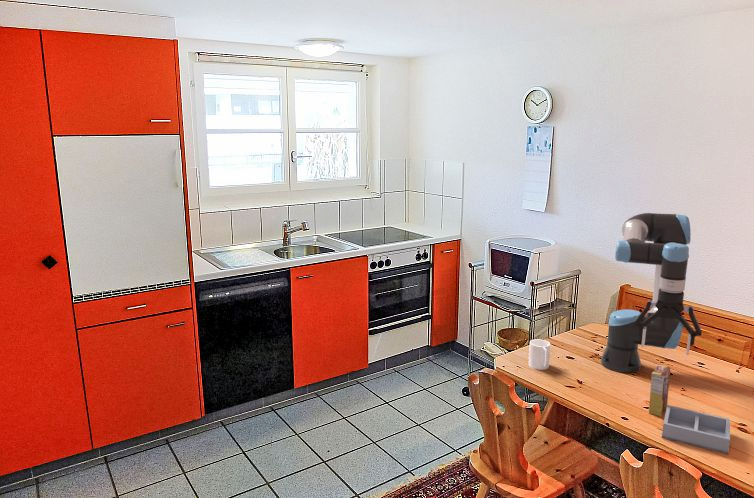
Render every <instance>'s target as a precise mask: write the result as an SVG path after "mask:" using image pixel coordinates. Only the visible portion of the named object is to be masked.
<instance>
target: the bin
mask: <svg viewBox="0 0 754 498" xmlns="http://www.w3.org/2000/svg"><path fill="white" fill-rule="evenodd" d="M661 439H666V440H669V441H673V442H677V443H681V444H684V445H688V446H692V447H696V448H701V449H704V450H709V451H713V452H716V453H721V454H724V455H729V450H730V443H731V418H728V417H722V416H717V415H714V414H710V413H707V412H706V413H705V412H701V411H697V410H691V409H688V408H683V407H678V406H674V405H670V404H667V408H666V409H665V414H664V420H663V425H662V432H661Z"/></svg>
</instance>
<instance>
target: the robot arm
mask: <svg viewBox="0 0 754 498" xmlns="http://www.w3.org/2000/svg"><path fill="white" fill-rule="evenodd" d="M691 231H692V230H691V222H690V219H689V217H688V216H687V215H685V214H683V215H682V214H677V213H657V212H656V213H655V212H654V213H652V212H643V213H639V214H635V215H633V216H632V217H629V218H628V219H627V220H626V221H624V223H623V224H622V229H621V233H622V236H623V239H622V240H618V241H617V242H616V245H615V256H614V258H615V261H617V262H620V263H621V262H622V263H627V264H628V263H630V264H631V263H632V264H644V265H655V268H654V269H655V271H654V278H653V279H654V281H653V291H652V292H653V293H652V300H651V299H648V300H647V301H646V305H645V307H644V309H643V310H642V311H641V312H640V311H639V310H635V309H618V310H614V311H612V312H611V313H610V315H609V321H608V332H607V343H606V347H605V349H604V351H603V353H602V355H601V359H600V362H601V366H603V367H604V368H607V369H609V370H611V371H613V372H618V373H630V374H631V373H637V372H639V371H640V370H641V367H642V361H641V358H640V354H639V353H640V352H639V351H638V350H639V349H638V348H639V346H640V345H641V348H642V347H643V348H645V346H647V347H654V348H661V349H667V350H668V349H669V350H674V349H675V350H676V349H677V348H678V347H679V345H680V342H681V337H682V334H683V327H684V328H685V330H686V331H687V332H688V337H687V342H686V343H687V345H686V352H685V355H686V356H689V353H690V347H691V346H694V345H695V339H696V337H697V336H699V337H701V336H702V333H703V332H702V329H701V327H700V324H699V322H698V320H697V318H696V315H695V313H694V306H693V305H689V306H684V296H685V292H684V291H685V287H686V279H687V269H688V263H689V262H688V261H689V257H690V255H689V254H690V253H689V252H690V247H688V245H689V244H690V243H691V235H692V234H691ZM684 311H685V313H686V314H688V316H689V319H690V321H691V323H692V325H693V327H692V326H691V325H690V323H689V322H688V321H687V320H686V318H685V317H684V316H683V314H682V312H684ZM693 328H694V329H693Z"/></svg>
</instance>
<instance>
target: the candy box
mask: <svg viewBox="0 0 754 498" xmlns="http://www.w3.org/2000/svg"><path fill="white" fill-rule="evenodd" d="M670 375H671V366H666V365H661V364H657V366H656V367H655V369H654V370H653V371H652V372H651V379H650V380H651V381H650V393H649V402H648V403H649V404H648V414H650V415H653V416H657V417H662V416H663V414H664V412H666V409H667V405H668V402H669V391H670V389H669V388H670Z"/></svg>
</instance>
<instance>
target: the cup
mask: <svg viewBox="0 0 754 498" xmlns="http://www.w3.org/2000/svg"><path fill="white" fill-rule="evenodd" d="M550 353H551V343H550V342H549V341H548V340H545V339H539V338H537V339H535V338H534V339H531V340H530V341H529V350H528V366H529V368H531V369H534V370H538V371H541V370H542V371H544V370H547V369H549V368H550V358H551V357H550V355H551V354H550Z"/></svg>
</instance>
